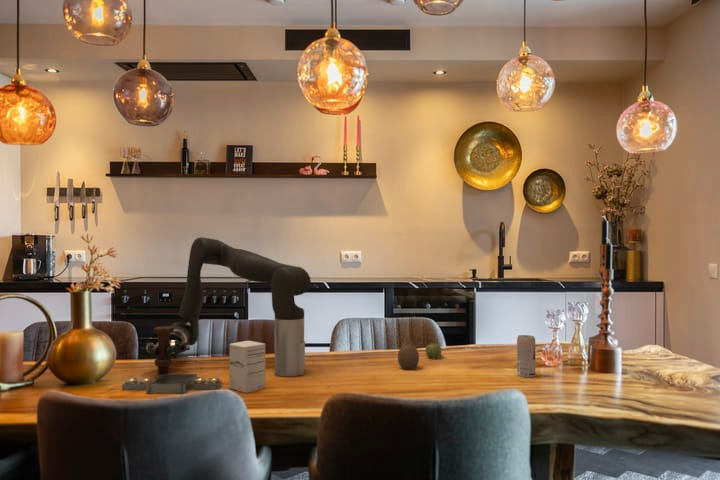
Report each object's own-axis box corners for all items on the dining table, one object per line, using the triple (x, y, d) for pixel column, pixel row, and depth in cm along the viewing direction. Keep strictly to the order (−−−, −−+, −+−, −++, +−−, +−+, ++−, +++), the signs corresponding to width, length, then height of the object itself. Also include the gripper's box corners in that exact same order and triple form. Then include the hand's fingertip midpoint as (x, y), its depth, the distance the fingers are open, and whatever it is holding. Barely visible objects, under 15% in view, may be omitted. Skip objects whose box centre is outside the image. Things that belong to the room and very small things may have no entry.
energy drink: (536, 374, 164) (536, 335, 164) (534, 378, 159) (534, 338, 159) (518, 372, 166) (518, 334, 166) (515, 376, 161) (515, 337, 162)
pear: (424, 343, 187) (427, 343, 196) (424, 358, 186) (427, 357, 195) (440, 343, 185) (442, 343, 195) (440, 359, 185) (442, 358, 194)
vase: (394, 369, 171) (394, 342, 171) (401, 365, 177) (401, 338, 177) (415, 371, 168) (415, 343, 168) (421, 366, 175) (421, 340, 175)
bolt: (165, 379, 158) (165, 329, 158) (150, 378, 159) (150, 328, 159) (176, 374, 164) (176, 326, 164) (161, 374, 165) (161, 325, 165)
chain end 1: (195, 382, 155) (195, 373, 155) (183, 393, 143) (183, 383, 143) (133, 383, 154) (133, 374, 154) (116, 394, 143) (116, 384, 143)
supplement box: (228, 388, 148) (228, 343, 148) (249, 383, 154) (249, 339, 154) (244, 393, 143) (244, 346, 143) (266, 388, 149) (266, 342, 149)
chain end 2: (224, 382, 155) (224, 373, 155) (215, 393, 144) (215, 383, 144) (163, 382, 154) (163, 373, 154) (148, 393, 143) (148, 384, 143)
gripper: (151, 331, 175) (136, 340, 158) (195, 330, 177) (185, 339, 160) (151, 353, 175) (136, 365, 158) (195, 352, 177) (185, 364, 160)
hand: (161, 352), depth 159 cm, fingers closed on bolt, 3 cm apart
